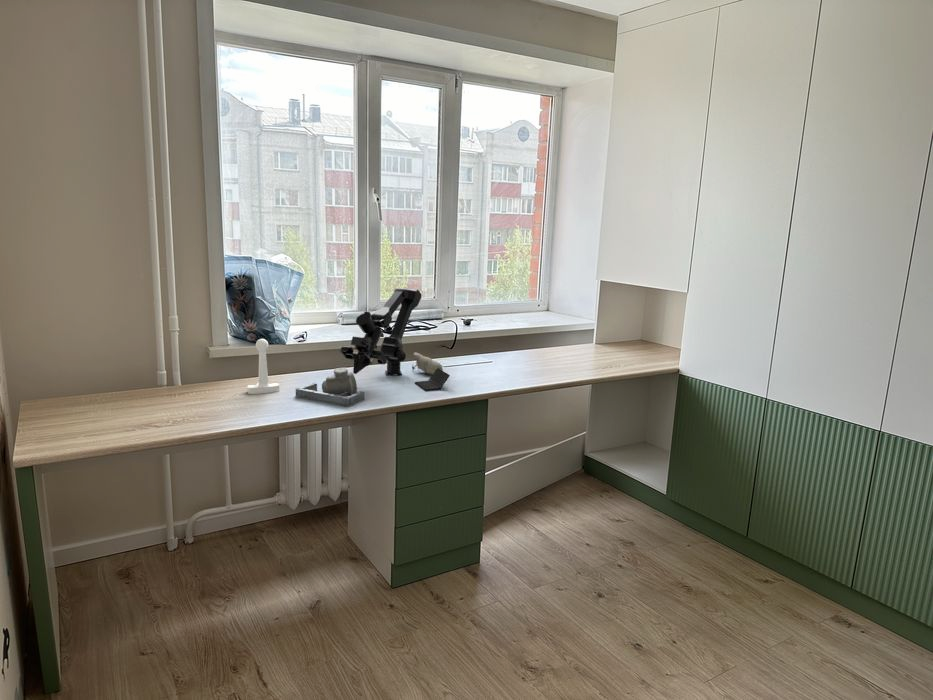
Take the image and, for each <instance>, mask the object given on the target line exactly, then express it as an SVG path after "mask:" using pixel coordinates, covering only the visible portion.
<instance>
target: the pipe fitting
mask: <svg viewBox="0 0 933 700" xmlns="http://www.w3.org/2000/svg"><path fill="white" fill-rule="evenodd" d="M333 374H334V375H329V376H327V377H326V379H325V380H323V382H322V384H321V392H323V393H329V394H334V395H341V394H345V393H347V394H349V395H353V394H356V393H358V387H357V386H358V385H357V381H356V377H355V374H354V373H353V372H349V371H348V368H347V367H336V368H334V369H333Z"/></svg>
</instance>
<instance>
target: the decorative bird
mask: <svg viewBox="0 0 933 700" xmlns="http://www.w3.org/2000/svg"><path fill="white" fill-rule="evenodd" d="M413 355H414V356H415V365H414V364H413V363H412V364H411V365H412V366H411V371H415V370H416V367H417V369H418V370H421V371H422V372H424V373H425V374H427V375H433V374H434V372H435V371H436V369H437V368H439V369H440V370H442V371H443V366H442V363H441V362H438V361H436V360H433V359H432V358H430V357H428V356H424V355H422V354H421V353H419V352H416V351H415V352H414V353H413Z"/></svg>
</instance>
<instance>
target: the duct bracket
mask: <svg viewBox="0 0 933 700" xmlns="http://www.w3.org/2000/svg"><path fill="white" fill-rule="evenodd" d="M295 398H300V399H305V400H310V401H315V402H321V403H326V404H331V405H336V406H341V407H346V408H349V407H351V406H354V405H356V404H358V403H361V402H363V401H365V399H366V392H365V391H362V390H361V391H357V392H356V393H355V394H350V395H349V396H344V395H340V394H337V395H334V394H329V393H323V391H319V390H318V383H317V382H312V383H308V384H305V385H302V386H301V387H300V386H299V387H297V388H295Z"/></svg>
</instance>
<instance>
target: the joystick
mask: <svg viewBox="0 0 933 700" xmlns="http://www.w3.org/2000/svg"><path fill="white" fill-rule="evenodd" d="M255 348H256V349H257V350H258V382H257V383H256V384H251V385H250V384H249V385H247V387H246V389H247V394H248V395H249V394H251V395H252V394H253V395H255V394H256V395H258V394H268V393H269V394H270V393H277V392H279V391H280V384H279V383H278V382H274V383H270V382H269V375H268V373H269V372H268V363H267V353H266V351H267V349H268V348H269V342H268V340H266V339H265V338H259V339H258V340H256V343H255Z"/></svg>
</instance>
